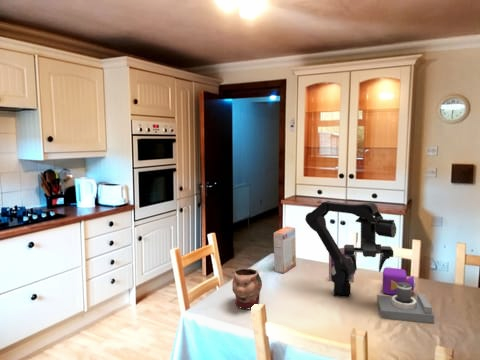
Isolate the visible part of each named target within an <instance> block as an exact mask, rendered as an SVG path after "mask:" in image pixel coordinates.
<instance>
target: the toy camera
mask: <svg viewBox="0 0 480 360" xmlns="http://www.w3.org/2000/svg"><path fill="white" fill-rule="evenodd" d="M399 282H405V283H409V284H411V286H412V288H411V292H414V291H415V290H414V289H415V288H416V286H417V282H416V280H415V277H414V275H412V276H409V277H407V271H406V270H405V269H402V268H396V267H395V268H393V267H391V266H386V267H384V268H383V271H382V292H383V293H384V294H385V295H391V296H394V295H397V283H399Z"/></svg>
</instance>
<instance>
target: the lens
mask: <svg viewBox="0 0 480 360" xmlns="http://www.w3.org/2000/svg"><path fill="white" fill-rule="evenodd" d="M411 288H412V286H411V284H409V283H405V282H399V283H397V301H398V302H401V303H411V297H412V290H411Z"/></svg>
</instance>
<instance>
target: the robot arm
mask: <svg viewBox="0 0 480 360" xmlns="http://www.w3.org/2000/svg"><path fill="white" fill-rule="evenodd" d="M329 212H335V213H343V214H352V215H353V216H354V215H355V216H356V217H358V218H357V219H356V220H355V223H360V247H355V245H354V244H344V246H343V248H344V254H345V255H348V257H351V258H348V259H347V258H345V257H344V256H343V254H342V253H341V251H340V249H339V246H338V244H337V242H336V241H335V240H334V237H333V236H332V235H331V232H330V231H329V229H328V227H327V223H326V218H325V217H326V216H327V214H328V213H329ZM304 219H305V222H306V224H307V225H308V226H309V227H310V229H311V230H313V231H314V232H316V234H317V235H318V237H319V238H320V240H321V242H322V244H323V245H324V247H325V249H326V250H327V253H328V255H329V254H330V256H331V258H332V259H333V261H334V269H335V271H336V274H334V275H333V276H332V277H331V279H332V281H331V283H333V296H334V297H343V298H350V295H351V290H352V289H351V286H352V285H351V282H349V279H350V278H351V277H352V276H353V275H354V276H355V274H356V271H357V270H358V269H357V259H356V254H355V253H362V256H363V258H364V257H365V258H368V257H371V258H376V256H377V255H378V254H379V261H378V262H379V263H378V272H379V273H381V272H382V269H383V265H385V263H386V261H387V260H389V259H391V258H393V257H394V250H393V248H392V247H391V246H389V245H386V246H385V245H382V244H380V243H378V244H377V243H376V237H377V235H378V237H379V236H380V237H388V238H395V237H396V234H397V226H396V223H395V220H394V219H385V218H384V217H383V215H382V214H381V213H380V211H379V210H378V206H377V205H376V203H374V202H371V201H370V202H359V203H348V202H338V201H330V200H326V201H323V202H321V203H320V205H318V206H317V207H316V208H314V209H313V210H312V211H311V212H307V214H306V215H305V218H304ZM376 234H377V235H376ZM351 259H352V260H351ZM352 261H353V262H352Z"/></svg>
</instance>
